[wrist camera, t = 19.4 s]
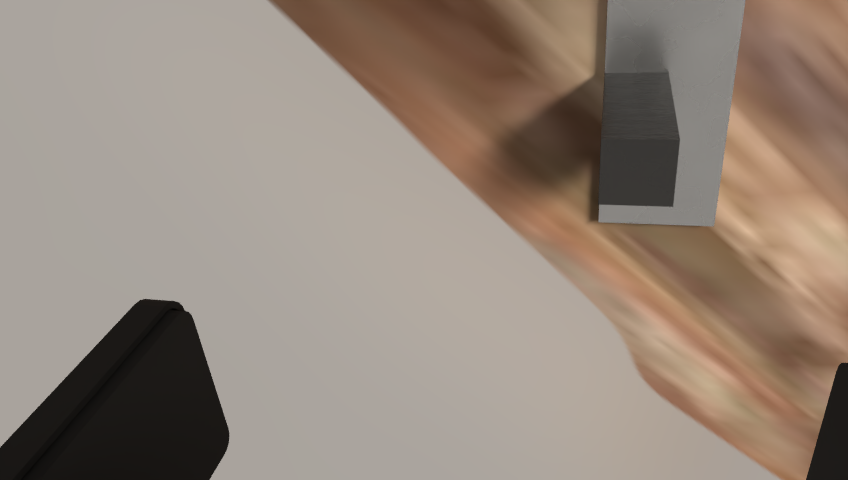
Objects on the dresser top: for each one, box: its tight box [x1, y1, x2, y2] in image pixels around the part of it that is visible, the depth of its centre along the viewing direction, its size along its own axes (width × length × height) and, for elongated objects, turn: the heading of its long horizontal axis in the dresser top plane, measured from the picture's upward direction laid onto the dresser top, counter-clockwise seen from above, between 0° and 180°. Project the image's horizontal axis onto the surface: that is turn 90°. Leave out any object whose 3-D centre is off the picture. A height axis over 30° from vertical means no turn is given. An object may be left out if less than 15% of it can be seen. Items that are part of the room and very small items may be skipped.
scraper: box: [598, 0, 745, 226], centre depth 32 cm, size 6×14×9 cm, turn 6°
